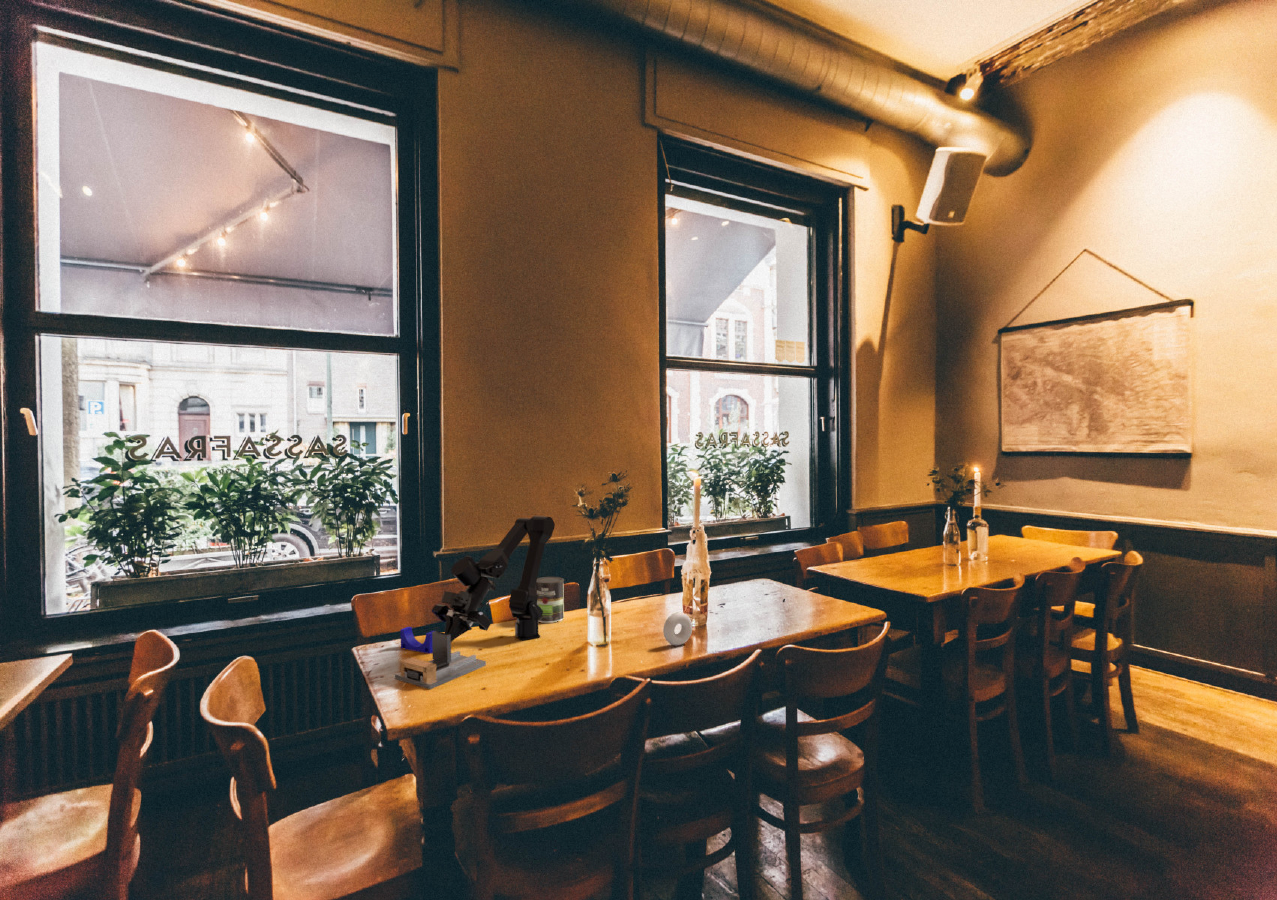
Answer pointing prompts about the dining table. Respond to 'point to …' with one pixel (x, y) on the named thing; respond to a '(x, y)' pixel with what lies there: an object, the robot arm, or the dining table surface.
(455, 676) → the rail base
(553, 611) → the coffee can
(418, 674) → the metal angle bracket
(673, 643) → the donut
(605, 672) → the dining table surface
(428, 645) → the blue saddle bracket
